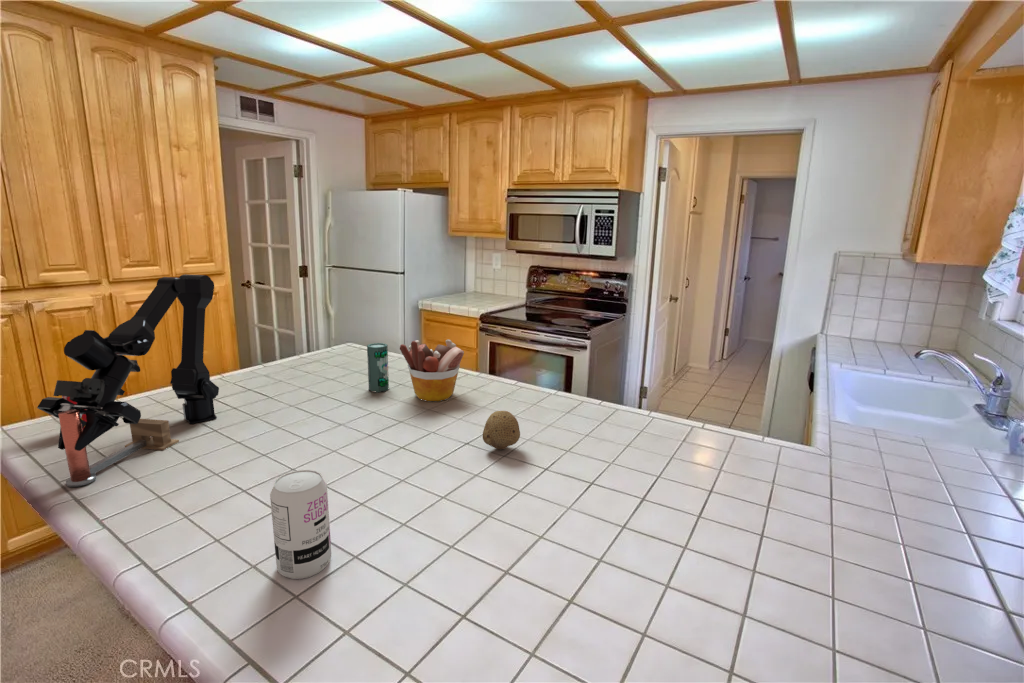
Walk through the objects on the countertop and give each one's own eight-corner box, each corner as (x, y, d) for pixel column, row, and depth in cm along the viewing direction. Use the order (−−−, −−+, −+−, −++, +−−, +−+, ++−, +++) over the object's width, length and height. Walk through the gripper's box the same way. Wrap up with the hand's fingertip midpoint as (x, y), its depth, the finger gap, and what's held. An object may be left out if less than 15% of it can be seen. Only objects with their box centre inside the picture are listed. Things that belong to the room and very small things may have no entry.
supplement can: (287, 549, 86) (280, 468, 82) (337, 548, 86) (332, 467, 83) (269, 582, 78) (260, 494, 74) (324, 580, 79) (318, 493, 75)
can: (385, 392, 164) (384, 347, 161) (367, 392, 164) (365, 347, 161) (390, 386, 170) (389, 343, 167) (372, 386, 170) (370, 342, 167)
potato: (527, 449, 126) (529, 412, 124) (502, 461, 119) (503, 421, 117) (501, 438, 132) (502, 402, 130) (476, 449, 125) (477, 411, 123)
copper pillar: (134, 446, 121) (125, 386, 117) (153, 448, 120) (144, 387, 117) (59, 486, 103) (46, 416, 99) (81, 487, 102) (68, 417, 99)
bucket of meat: (435, 384, 174) (434, 327, 170) (472, 394, 165) (473, 334, 161) (391, 399, 158) (389, 337, 154) (430, 411, 149) (429, 346, 145)
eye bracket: (141, 438, 126) (138, 416, 125) (179, 441, 125) (176, 418, 124) (124, 447, 121) (121, 424, 120) (163, 450, 120) (160, 426, 119)
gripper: (37, 360, 104) (-11, 431, 96) (121, 364, 102) (80, 438, 94) (79, 384, 113) (39, 451, 105) (157, 389, 112) (122, 457, 104)
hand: (68, 449), depth 102 cm, fingers closed on copper pillar, 3 cm apart
